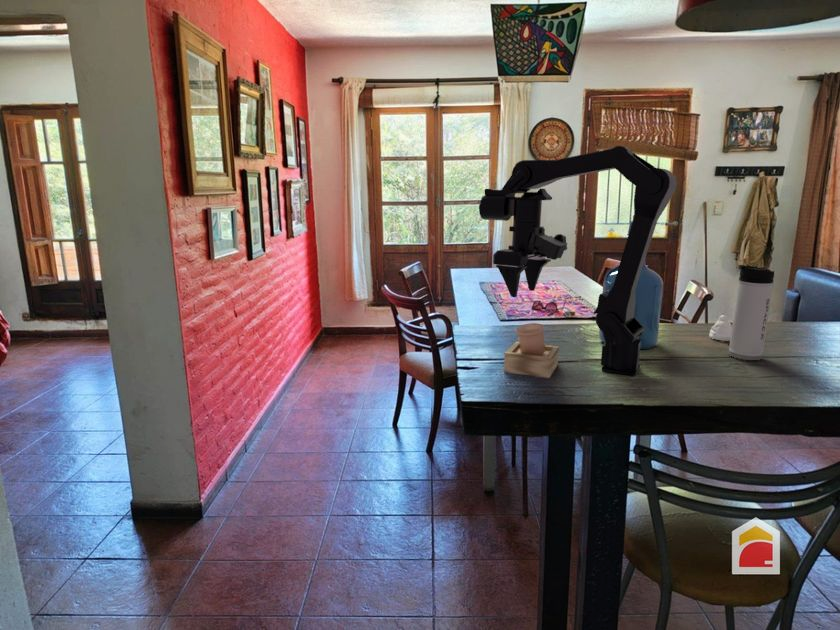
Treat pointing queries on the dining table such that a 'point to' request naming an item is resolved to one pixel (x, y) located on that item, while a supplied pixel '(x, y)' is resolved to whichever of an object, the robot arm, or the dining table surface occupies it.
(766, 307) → the travel mug
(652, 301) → the blue bottle
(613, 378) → the dining table surface
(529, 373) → the oak riser block
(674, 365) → the dining table surface
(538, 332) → the terracotta cup
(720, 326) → the garlic bulb
